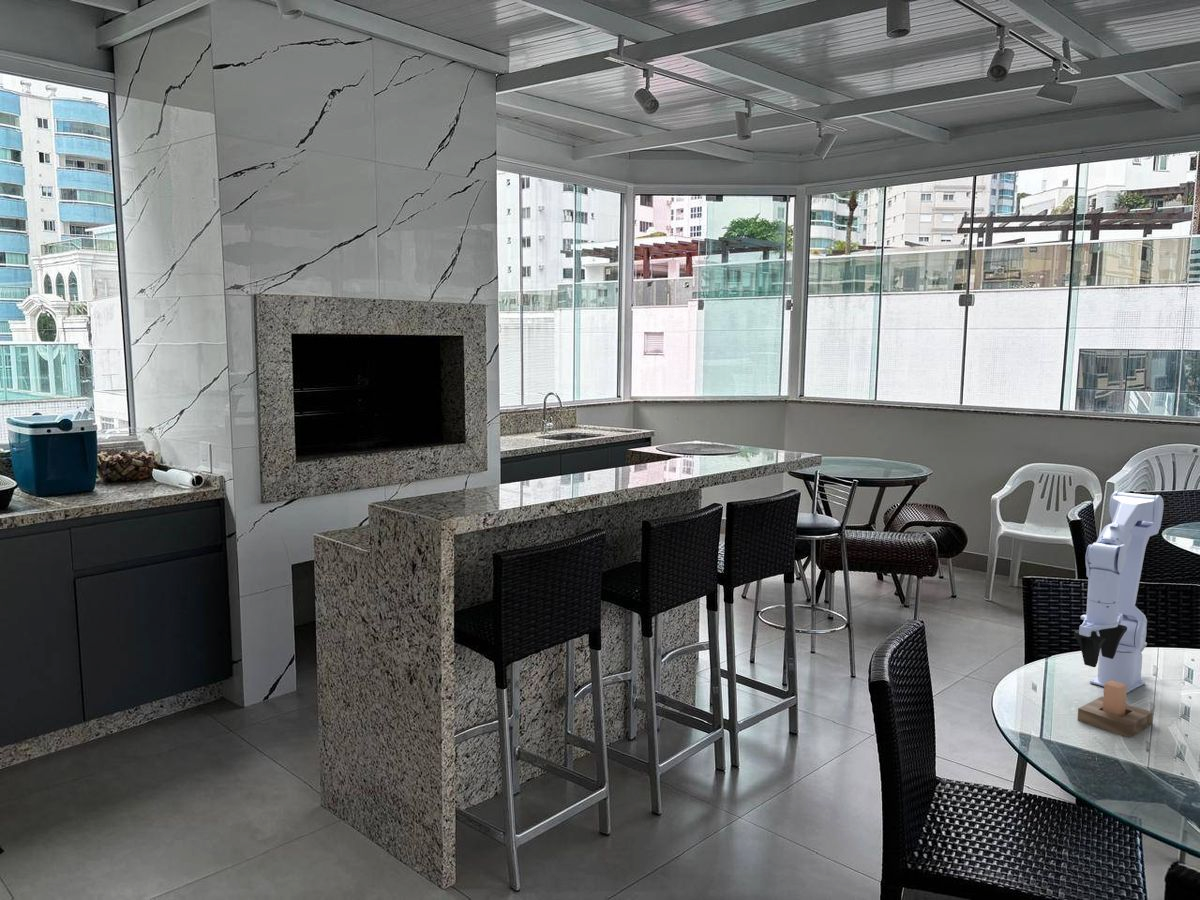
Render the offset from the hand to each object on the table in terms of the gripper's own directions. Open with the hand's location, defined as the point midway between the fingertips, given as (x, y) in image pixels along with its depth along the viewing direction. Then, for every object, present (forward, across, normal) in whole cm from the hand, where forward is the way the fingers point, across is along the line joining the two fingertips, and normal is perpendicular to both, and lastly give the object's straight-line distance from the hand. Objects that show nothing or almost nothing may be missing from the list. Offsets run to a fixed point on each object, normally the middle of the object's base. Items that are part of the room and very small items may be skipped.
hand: (1099, 661), depth 186 cm
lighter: (+10, -25, -5) cm, 27 cm away
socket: (+10, +5, +6) cm, 13 cm away
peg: (+10, +5, +6) cm, 12 cm away
